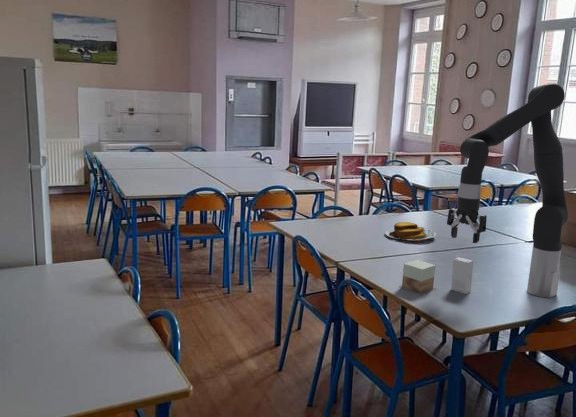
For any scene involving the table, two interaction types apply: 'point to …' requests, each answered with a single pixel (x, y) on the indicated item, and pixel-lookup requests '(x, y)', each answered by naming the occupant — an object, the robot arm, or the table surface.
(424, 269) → the upper block
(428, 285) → the lower block
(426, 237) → the food on plate
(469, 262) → the skincare box
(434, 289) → the mat
